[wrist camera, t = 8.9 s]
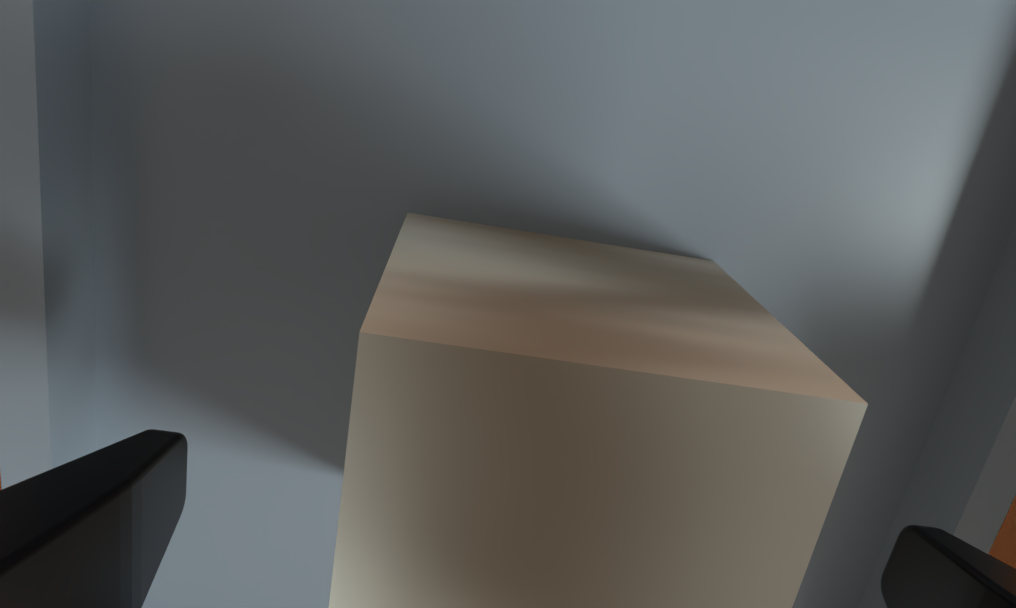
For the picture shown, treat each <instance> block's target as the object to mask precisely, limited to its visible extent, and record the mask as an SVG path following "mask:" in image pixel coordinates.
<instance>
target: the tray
mask: <svg viewBox="0 0 1016 608" xmlns="http://www.w3.org/2000/svg"><path fill="white" fill-rule="evenodd" d="M407 213H413V214H420V215H426V216H432V217H439V218H445V219H451V220H458V221H464V222H470V223H477V224H483V225H489V226H496V227H502V228H508V229H515V230H521V231H527V232H534V233H540V234H546V235H553V236H559V237H566V238H572V239H578V240H585V241H591V242H597V243H604V244H610V245H616V246H623V247H629V248H635V249H642V250H648V251H654V252H661V253H667V254H673V255H680V256H686V257H692V258H699V259H705V260H711V261H714V262H715V263H716V264H718V265H719V266H720V267H721V268H722V269H723V270H724V271H725V272H726V273H727V274H728V275H729V276H730V277H732V278H733V279H734V280H735V281H736V282H737V283H738V284H739V285H740V286H741V287H742V288H743V289H745V290H746V291H747V292H748V293H749V294H750V295H751V296H752V297H753V298H754V299H755V300H756V301H757V302H759V303H760V304H761V305H762V306H763V307H764V308H765V309H766V310H767V311H768V312H769V313H770V314H772V315H773V316H774V317H775V318H776V319H777V320H778V321H779V322H780V323H781V324H782V325H783V326H785V327H786V328H787V329H788V330H789V331H790V332H791V333H792V334H793V335H794V336H795V337H796V338H797V339H799V340H800V341H801V342H802V343H803V344H804V345H805V346H806V347H807V348H808V349H809V350H810V351H812V352H813V353H814V354H815V355H816V356H817V357H818V358H819V359H820V360H821V361H822V362H823V363H824V364H826V365H827V366H828V367H829V368H830V369H831V370H832V371H833V372H834V373H835V374H836V375H837V376H839V377H840V378H841V379H842V380H843V381H844V382H845V383H846V384H847V385H848V386H849V387H850V388H851V389H853V390H854V391H855V392H856V393H857V394H858V395H859V396H860V397H861V398H862V399H863V400H864V401H866V402H867V403H868V406H867V408H866V411H865V414H864V416H863V419H862V422H861V425H860V427H859V430H858V433H857V435H856V438H855V441H854V443H853V446H852V449H851V451H850V454H849V457H848V459H847V462H846V465H845V467H844V470H843V473H842V475H841V478H840V481H839V484H838V486H837V489H836V492H835V494H834V497H833V500H832V502H831V505H830V508H829V510H828V513H827V516H826V518H825V521H824V524H823V526H822V529H821V532H820V534H819V537H818V540H817V543H816V545H815V548H814V551H813V553H812V556H811V559H810V561H809V564H808V567H807V569H806V572H805V575H804V577H803V580H802V583H801V585H800V588H799V591H798V593H797V596H796V599H795V602H794V604H793V607H792V608H887V606H886V604H885V601H884V599H883V596H882V592H881V576H882V573H883V571H884V568H885V566H886V563H887V561H888V559H889V556H890V554H891V551H892V549H893V547H894V544H895V542H896V539H897V537H898V535H899V533H900V531H901V530H902V529H903V528H904V527H906V526H908V525H920V526H928V527H936V528H940V529H942V530H944V531H946V532H948V533H950V534H952V535H954V536H955V537H957V538H959V539H961V540H963V541H965V542H967V543H968V544H970V545H972V546H974V547H976V548H978V549H980V550H981V551H983V552H985V553H987V554H988V553H989V551H990V549H991V547H992V545H993V542H994V540H995V538H996V536H997V534H998V532H999V530H1000V528H1001V525H1002V523H1003V521H1004V519H1005V517H1006V515H1007V513H1008V511H1009V508H1010V506H1011V504H1012V502H1013V500H1014V498H1015V496H1016V0H0V473H1V488H2V489H4V488H7V487H9V486H12V485H14V484H16V483H19V482H21V481H24V480H26V479H29V478H31V477H33V476H36V475H38V474H41V473H43V472H46V471H48V470H51V469H53V468H55V467H58V466H60V465H63V464H65V463H68V462H70V461H72V460H75V459H77V458H80V457H82V456H85V455H87V454H89V453H92V452H94V451H97V450H99V449H102V448H104V447H106V446H109V445H111V444H114V443H116V442H119V441H121V440H123V439H126V438H128V437H131V436H133V435H136V434H138V433H140V432H143V431H145V430H148V429H156V430H164V431H171V432H179V433H182V434H183V435H184V436H185V437H186V439H187V444H188V452H187V486H186V499H185V504H184V508H183V511H182V514H181V517H180V519H179V521H178V524H177V526H176V528H175V531H174V533H173V535H172V538H171V540H170V542H169V545H168V547H167V550H166V552H165V554H164V557H163V559H162V561H161V564H160V566H159V568H158V571H157V573H156V575H155V578H154V580H153V582H152V585H151V587H150V589H149V592H148V594H147V596H146V599H145V601H144V603H143V606H142V608H329V600H330V591H331V582H332V573H333V564H334V555H335V546H336V537H337V528H338V519H339V510H340V501H341V493H342V484H343V475H344V466H345V457H346V448H347V439H348V430H349V421H350V412H351V403H352V394H353V385H354V376H355V367H356V358H357V349H358V340H359V332H360V329H361V327H362V324H363V322H364V319H365V317H366V314H367V312H368V310H369V307H370V305H371V302H372V300H373V297H374V295H375V292H376V290H377V287H378V285H379V282H380V280H381V277H382V275H383V272H384V270H385V267H386V265H387V262H388V260H389V257H390V255H391V252H392V250H393V247H394V245H395V242H396V240H397V238H398V235H399V233H400V230H401V228H402V225H403V223H404V220H405V218H406V215H407Z"/></svg>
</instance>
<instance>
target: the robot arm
mask: <svg viewBox="0 0 1016 608" xmlns="http://www.w3.org/2000/svg"><path fill="white" fill-rule="evenodd" d="M187 452H188V444H187V439H186V437H185V436H184V435H183V434H182V433H179V432H171V431H164V430H156V429H148V430H145V431H143V432H140V433H138V434H136V435H133V436H131V437H128V438H126V439H123V440H121V441H119V442H116V443H114V444H111V445H109V446H106V447H104V448H102V449H99V450H97V451H94V452H92V453H89V454H87V455H85V456H82V457H80V458H77V459H75V460H72V461H70V462H68V463H65V464H63V465H60V466H58V467H55V468H53V469H51V470H48V471H46V472H43V473H41V474H38V475H36V476H33V477H31V478H29V479H26V480H24V481H21V482H19V483H16V484H14V485H12V486H9V487H7V488H4V489H2V490H0V608H142V606H143V603H144V601H145V599H146V596H147V594H148V592H149V589H150V587H151V585H152V582H153V580H154V578H155V575H156V573H157V571H158V568H159V566H160V564H161V561H162V559H163V557H164V554H165V552H166V550H167V547H168V545H169V542H170V540H171V538H172V535H173V533H174V531H175V528H176V526H177V524H178V521H179V519H180V517H181V514H182V511H183V508H184V504H185V499H186V486H187ZM881 592H882V596H883V599H884V601H885V604H886V606H887V608H1016V569H1015V568H1013V567H1011V566H1009V565H1007V564H1005V563H1004V562H1002V561H1000V560H998V559H996V558H994V557H992V556H991V555H989V554H987V553H985V552H983V551H981V550H980V549H978V548H976V547H974V546H972V545H970V544H968V543H967V542H965V541H963V540H961V539H959V538H957V537H955V536H954V535H952V534H950V533H948V532H946V531H944V530H942V529H940V528H936V527H928V526H920V525H908V526H906V527H904V528H903V529H902V530H901V531H900V533H899V535H898V537H897V539H896V542H895V544H894V547H893V549H892V551H891V554H890V556H889V559H888V561H887V563H886V566H885V568H884V571H883V573H882V576H881Z"/></svg>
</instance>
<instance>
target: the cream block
mask: <svg viewBox="0 0 1016 608" xmlns="http://www.w3.org/2000/svg"><path fill="white" fill-rule="evenodd" d="M867 406H868V403H867V402H866V401H864V400H863V399H862V398H861V397H860V396H859V395H858V394H857V393H856V392H855V391H854V390H853V389H851V388H850V387H849V386H848V385H847V384H846V383H845V382H844V381H843V380H842V379H841V378H840V377H839V376H837V375H836V374H835V373H834V372H833V371H832V370H831V369H830V368H829V367H828V366H827V365H826V364H824V363H823V362H822V361H821V360H820V359H819V358H818V357H817V356H816V355H815V354H814V353H813V352H812V351H810V350H809V349H808V348H807V347H806V346H805V345H804V344H803V343H802V342H801V341H800V340H799V339H797V338H796V337H795V336H794V335H793V334H792V333H791V332H790V331H789V330H788V329H787V328H786V327H785V326H783V325H782V324H781V323H780V322H779V321H778V320H777V319H776V318H775V317H774V316H773V315H772V314H770V313H769V312H768V311H767V310H766V309H765V308H764V307H763V306H762V305H761V304H760V303H759V302H757V301H756V300H755V299H754V298H753V297H752V296H751V295H750V294H749V293H748V292H747V291H746V290H745V289H743V288H742V287H741V286H740V285H739V284H738V283H737V282H736V281H735V280H734V279H733V278H732V277H730V276H729V275H728V274H727V273H726V272H725V271H724V270H723V269H722V268H721V267H720V266H719V265H718V264H716V263H715V262H714V261H711V260H705V259H699V258H692V257H686V256H680V255H673V254H667V253H661V252H654V251H648V250H642V249H635V248H629V247H623V246H616V245H610V244H604V243H597V242H591V241H585V240H578V239H572V238H566V237H559V236H553V235H546V234H540V233H534V232H527V231H521V230H515V229H508V228H502V227H496V226H489V225H483V224H477V223H470V222H464V221H458V220H451V219H445V218H439V217H432V216H426V215H420V214H413V213H407V215H406V218H405V220H404V223H403V225H402V228H401V230H400V233H399V235H398V238H397V240H396V242H395V245H394V247H393V250H392V252H391V255H390V257H389V260H388V262H387V265H386V267H385V270H384V272H383V275H382V277H381V280H380V282H379V285H378V287H377V290H376V292H375V295H374V297H373V300H372V302H371V305H370V307H369V310H368V312H367V314H366V317H365V319H364V322H363V324H362V327H361V329H360V332H359V340H358V349H357V358H356V367H355V376H354V385H353V394H352V403H351V412H350V421H349V430H348V439H347V448H346V457H345V466H344V475H343V484H342V493H341V501H340V510H339V519H338V528H337V537H336V546H335V555H334V564H333V573H332V582H331V591H330V600H329V608H792V607H793V604H794V602H795V599H796V596H797V593H798V591H799V588H800V585H801V583H802V580H803V577H804V575H805V572H806V569H807V567H808V564H809V561H810V559H811V556H812V553H813V551H814V548H815V545H816V543H817V540H818V537H819V534H820V532H821V529H822V526H823V524H824V521H825V518H826V516H827V513H828V510H829V508H830V505H831V502H832V500H833V497H834V494H835V492H836V489H837V486H838V484H839V481H840V478H841V475H842V473H843V470H844V467H845V465H846V462H847V459H848V457H849V454H850V451H851V449H852V446H853V443H854V441H855V438H856V435H857V433H858V430H859V427H860V425H861V422H862V419H863V416H864V414H865V411H866V408H867Z"/></svg>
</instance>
